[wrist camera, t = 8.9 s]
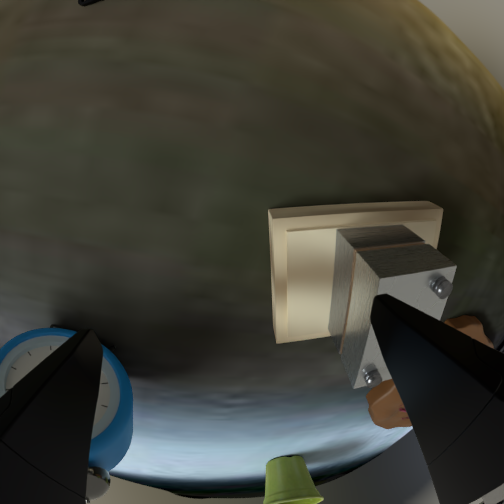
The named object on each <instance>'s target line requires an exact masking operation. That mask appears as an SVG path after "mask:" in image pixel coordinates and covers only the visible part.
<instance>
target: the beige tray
mask: <svg viewBox="0 0 504 504" xmlns="http://www.w3.org/2000/svg"><path fill="white" fill-rule="evenodd" d="M268 215H269V235H270V257H271V281H272V307H273V329H274V333H275V338H276V343H277V344H278V343H285V342H293V341H300V340H307V339H314V338H320V337H326V336H331V334H330V332H329V330H328V324H329V315H330V306H331V297H332V286H333V274H334V261H335V246H336V229H348V228H361V227H374V226H388V225H402V224H403V225H404V226H405V227H407V228H408V229H410V230H411V231H412V232H414V233H415V234H417V235H418V236H419V237H421V238H422V239H423V240H425V244H430V245H431V246H433V247H434V248H435V249H437V244H438V239H439V234H440V228H441V222H442V215H443V208H441V207H439V206H437V205H435V204H433V203H432V202H430V201H404V202H375V203H353V204H334V205H317V206H302V207H289V208H276V209H268Z"/></svg>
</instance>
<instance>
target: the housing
mask: <svg viewBox="0 0 504 504" xmlns="http://www.w3.org/2000/svg"><path fill="white" fill-rule="evenodd" d="M456 267H457V265H455V264H454V263H453V262H452V261H450V260H449V259H448V258H447V257H445V256H444V255H443V254H442V253H440V252H439V251H438V250H436V249H435V248H434V247H433V246H431V245H430V244H425V240H423V239H422V238H421V237H419V236H418V235H417V234H415V233H414V232H412V231H411V230H410V229H408V228H407V227H405V226H404V225H403V224H402V225H388V226H374V227H361V228H348V229H336V246H335V261H334V274H333V286H332V297H331V306H330V315H329V324H328V330H329V332H330V334H331V337H332V339H333V341H334V344H335V346H336V348H337V351H338V353H339V354H341V360H342V362H343V365H344V367H345V369H346V372H347V374H348V377H349V379H350V381H351V384H352V386H353V389H355V388H359V387H363V386H367V387H369V388H373V387H376V386H377V385H379V384H380V383H381V382H382V381H385V380H389V379H392V377H391V375H390V373H389V371H388V369H387V366H386V364H385V362H384V359H383V356H382V354H381V351H380V348H379V345H378V342H377V339H376V336H375V333H374V330H373V327H372V325H371V321H370V314H371V308H372V303H373V298H374V297H375V296H376V295H379V294H384V293H386V294H389V295H391V296H393V297H395V298H397V299H399V300H401V301H403V302H405V303H407V304H409V305H411V306H413V307H414V308H416V309H418V310H420V311H422V312H424V313H426V314H428V315H430V316H432V317H434V318H436V319H438V320H440V318H441V316H442V313H443V310H444V307H445V304H446V301H447V298H448V296H449V295H450V293H451V291H452V289H453V285H452V281H453V278H454V274H455V271H456Z"/></svg>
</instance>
